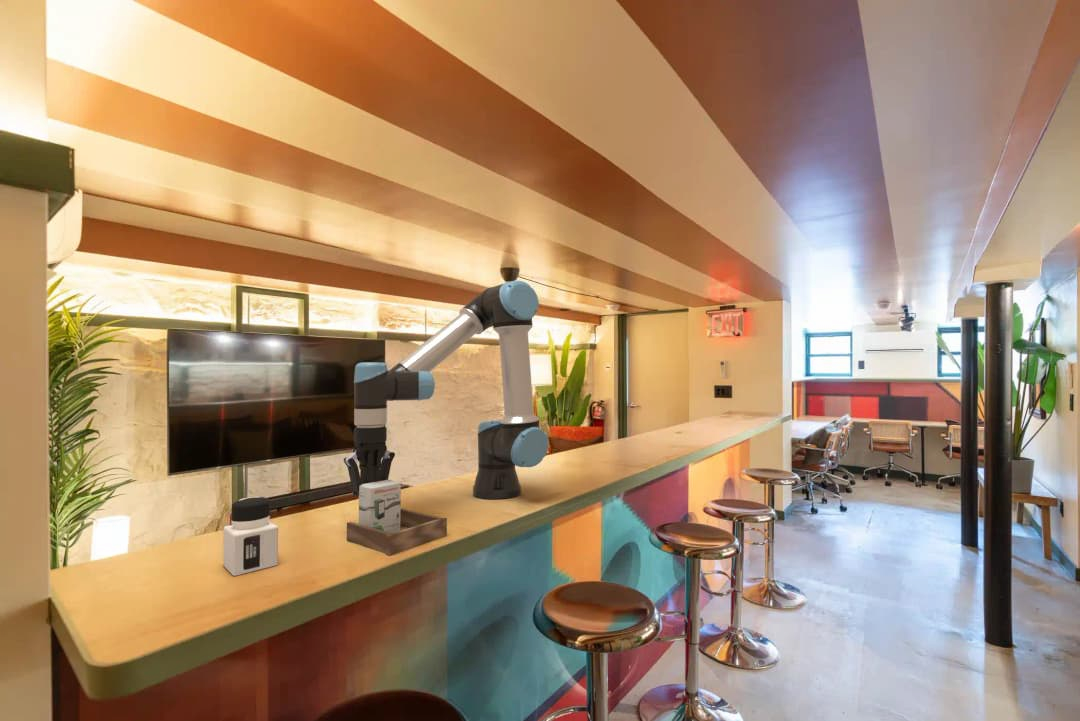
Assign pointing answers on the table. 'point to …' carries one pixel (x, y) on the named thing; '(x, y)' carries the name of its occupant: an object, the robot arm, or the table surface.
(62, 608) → the table surface
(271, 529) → the container
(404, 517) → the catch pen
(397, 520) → the ink box
